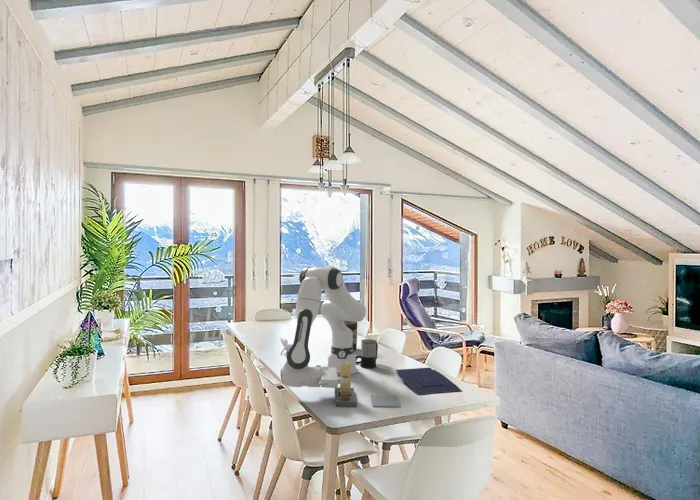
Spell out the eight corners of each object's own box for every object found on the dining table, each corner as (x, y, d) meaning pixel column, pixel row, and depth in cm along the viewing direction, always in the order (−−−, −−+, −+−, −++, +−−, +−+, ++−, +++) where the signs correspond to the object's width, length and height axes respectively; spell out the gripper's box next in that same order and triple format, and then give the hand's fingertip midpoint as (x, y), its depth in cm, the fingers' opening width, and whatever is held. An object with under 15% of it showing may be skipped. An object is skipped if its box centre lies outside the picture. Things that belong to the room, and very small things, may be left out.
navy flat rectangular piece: (432, 372, 253) (432, 365, 252) (462, 396, 225) (463, 389, 224) (391, 374, 245) (392, 368, 244) (417, 400, 217) (418, 393, 216)
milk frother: (374, 369, 259) (375, 343, 259) (347, 366, 263) (348, 340, 262) (378, 363, 273) (379, 338, 273) (352, 360, 276) (353, 336, 276)
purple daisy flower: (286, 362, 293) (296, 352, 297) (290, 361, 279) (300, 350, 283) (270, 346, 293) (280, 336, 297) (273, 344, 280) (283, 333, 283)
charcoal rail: (334, 391, 218) (334, 387, 218) (353, 391, 219) (353, 387, 219) (335, 406, 198) (335, 402, 198) (356, 407, 199) (356, 402, 199)
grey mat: (370, 396, 214) (370, 394, 214) (396, 396, 214) (396, 395, 214) (372, 406, 200) (372, 405, 200) (400, 407, 200) (400, 406, 200)
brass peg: (339, 396, 212) (340, 361, 211) (349, 396, 212) (350, 361, 212) (340, 399, 207) (341, 364, 207) (350, 400, 207) (351, 364, 207)
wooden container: (356, 352, 298) (357, 318, 298) (333, 351, 298) (334, 317, 298) (356, 347, 313) (357, 314, 312) (334, 346, 313) (335, 314, 313)
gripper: (316, 376, 198) (348, 377, 199) (317, 364, 219) (346, 364, 219) (316, 391, 198) (348, 391, 199) (316, 377, 219) (346, 377, 220)
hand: (347, 377), depth 210 cm, fingers open, 7 cm apart
